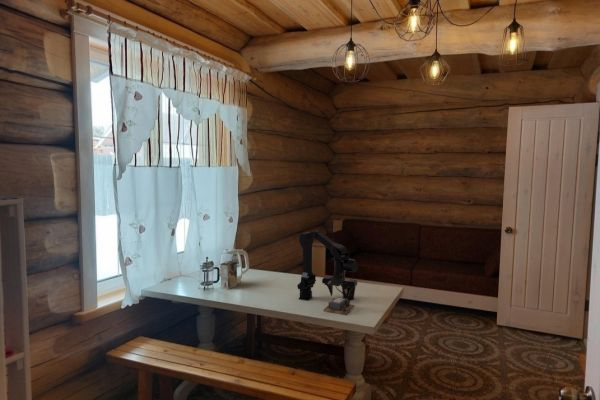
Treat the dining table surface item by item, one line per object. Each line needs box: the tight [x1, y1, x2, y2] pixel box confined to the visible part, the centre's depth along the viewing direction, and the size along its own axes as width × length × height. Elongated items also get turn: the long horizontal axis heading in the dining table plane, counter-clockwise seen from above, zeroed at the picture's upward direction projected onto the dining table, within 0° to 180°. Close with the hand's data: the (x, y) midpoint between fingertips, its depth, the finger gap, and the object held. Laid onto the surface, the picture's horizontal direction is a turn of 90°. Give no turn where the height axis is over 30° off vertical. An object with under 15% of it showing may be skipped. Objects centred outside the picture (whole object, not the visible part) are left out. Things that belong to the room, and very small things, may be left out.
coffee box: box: [220, 260, 238, 290], centre depth 264 cm, size 9×6×16 cm
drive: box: [329, 296, 349, 311], centre depth 225 cm, size 6×10×4 cm, turn 148°
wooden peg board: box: [323, 298, 355, 316], centre depth 225 cm, size 13×14×4 cm
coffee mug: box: [335, 279, 356, 301], centre depth 243 cm, size 12×9×10 cm
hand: (339, 296), depth 225 cm, fingers open, 9 cm apart
